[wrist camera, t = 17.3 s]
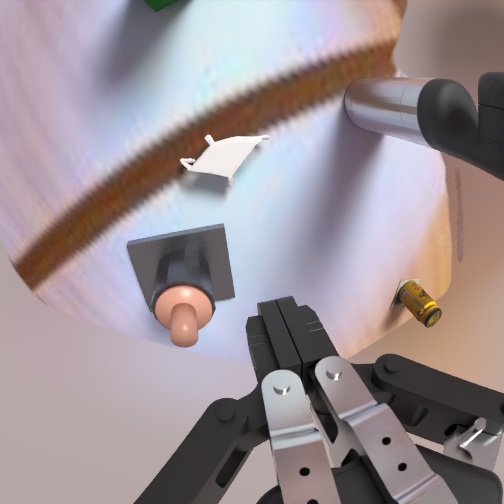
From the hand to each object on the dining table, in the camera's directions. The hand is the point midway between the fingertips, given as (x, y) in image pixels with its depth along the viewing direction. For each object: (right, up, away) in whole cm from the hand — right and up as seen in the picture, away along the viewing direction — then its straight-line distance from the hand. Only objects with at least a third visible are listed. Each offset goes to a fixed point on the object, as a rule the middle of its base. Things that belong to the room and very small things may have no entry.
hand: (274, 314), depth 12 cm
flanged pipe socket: (-13, 0, +36) cm, 38 cm away
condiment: (+38, -8, +52) cm, 65 cm away
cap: (-11, -4, +29) cm, 31 cm away
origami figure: (-5, +18, +28) cm, 33 cm away
